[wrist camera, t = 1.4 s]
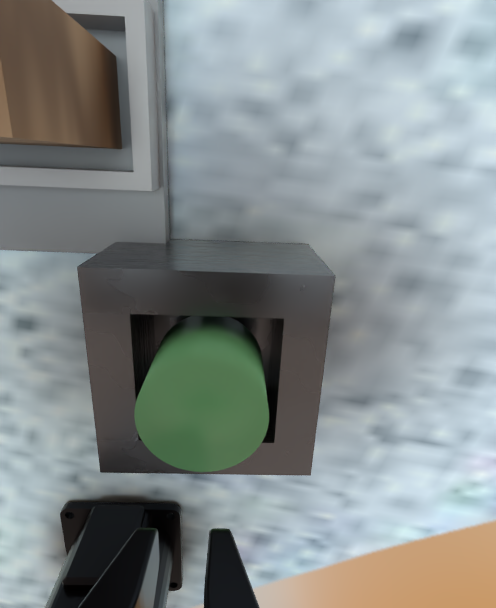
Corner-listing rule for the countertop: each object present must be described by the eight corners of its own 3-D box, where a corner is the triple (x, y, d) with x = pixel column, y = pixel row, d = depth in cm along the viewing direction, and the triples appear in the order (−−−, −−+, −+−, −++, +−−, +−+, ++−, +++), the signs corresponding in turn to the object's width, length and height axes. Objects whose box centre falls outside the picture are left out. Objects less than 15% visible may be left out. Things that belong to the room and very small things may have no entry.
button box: (293, 400, 20) (310, 475, 15) (133, 396, 19) (100, 472, 15) (308, 243, 17) (335, 275, 12) (122, 237, 17) (77, 267, 12)
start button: (259, 407, 16) (265, 472, 12) (159, 405, 15) (138, 471, 12) (265, 315, 14) (273, 361, 11) (155, 311, 14) (130, 357, 11)
